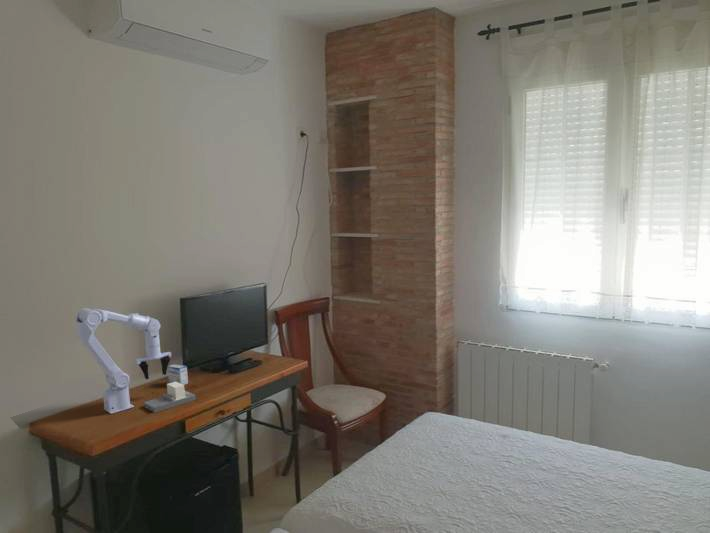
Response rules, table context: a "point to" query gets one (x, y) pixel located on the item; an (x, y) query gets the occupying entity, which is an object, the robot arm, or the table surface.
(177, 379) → the medicine box
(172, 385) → the cream white block
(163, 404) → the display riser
